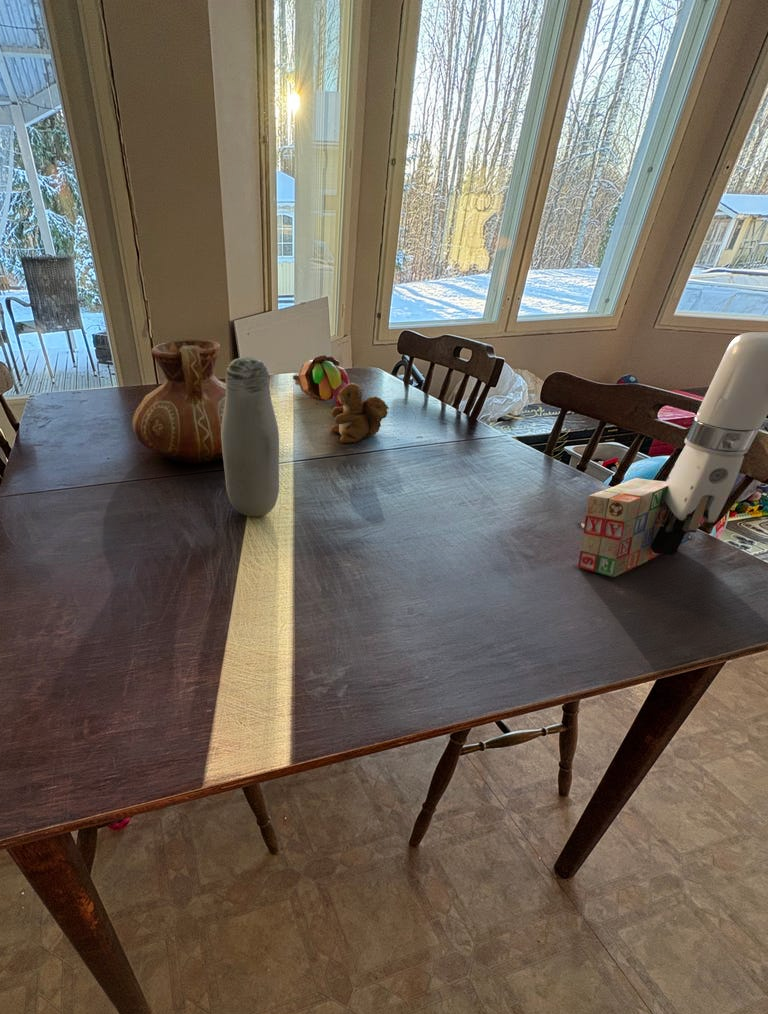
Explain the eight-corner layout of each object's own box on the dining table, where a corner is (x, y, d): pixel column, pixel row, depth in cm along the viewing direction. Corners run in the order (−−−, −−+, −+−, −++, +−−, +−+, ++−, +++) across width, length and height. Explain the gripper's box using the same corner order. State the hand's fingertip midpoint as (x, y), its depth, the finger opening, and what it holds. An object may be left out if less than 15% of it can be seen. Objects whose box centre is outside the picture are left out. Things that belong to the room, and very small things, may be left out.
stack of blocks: (650, 534, 97) (666, 465, 91) (688, 542, 92) (707, 469, 86) (576, 567, 88) (588, 493, 82) (613, 578, 83) (629, 500, 77)
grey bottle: (219, 516, 105) (202, 360, 87) (251, 498, 111) (242, 349, 94) (258, 529, 100) (249, 367, 83) (289, 509, 107) (287, 355, 89)
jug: (118, 447, 136) (94, 337, 121) (214, 422, 151) (204, 322, 135) (178, 481, 119) (159, 358, 103) (281, 450, 133) (278, 337, 118)
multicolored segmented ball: (326, 369, 178) (364, 355, 157) (321, 416, 183) (357, 410, 161) (285, 360, 173) (318, 345, 151) (281, 410, 177) (312, 403, 155)
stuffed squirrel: (328, 431, 144) (329, 379, 136) (379, 429, 145) (383, 376, 137) (334, 444, 136) (336, 389, 128) (387, 441, 137) (393, 386, 129)
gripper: (775, 457, 67) (704, 579, 79) (730, 421, 78) (673, 532, 90) (709, 452, 69) (648, 573, 80) (673, 417, 80) (625, 528, 91)
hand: (662, 551), depth 85 cm, fingers closed
